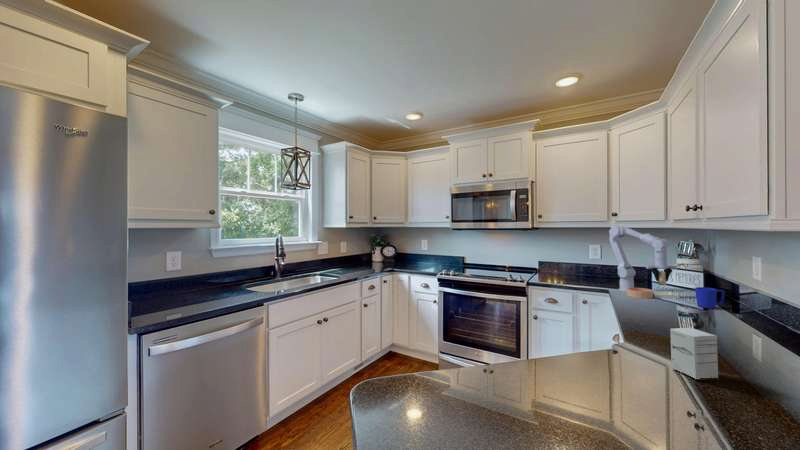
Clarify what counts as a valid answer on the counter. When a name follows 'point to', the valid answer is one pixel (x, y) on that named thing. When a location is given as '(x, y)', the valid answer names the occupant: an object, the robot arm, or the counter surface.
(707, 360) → the supplement box
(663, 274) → the peg
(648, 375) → the counter surface
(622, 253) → the robot arm
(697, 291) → the mug
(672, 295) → the tray
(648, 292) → the orange peg base
